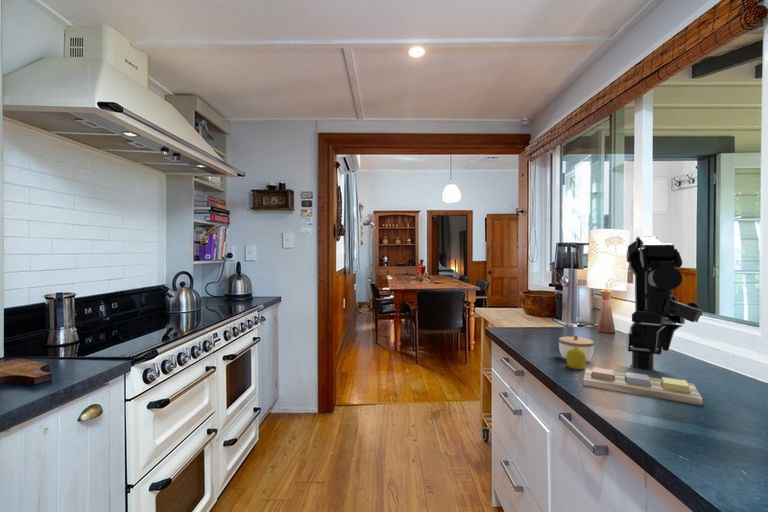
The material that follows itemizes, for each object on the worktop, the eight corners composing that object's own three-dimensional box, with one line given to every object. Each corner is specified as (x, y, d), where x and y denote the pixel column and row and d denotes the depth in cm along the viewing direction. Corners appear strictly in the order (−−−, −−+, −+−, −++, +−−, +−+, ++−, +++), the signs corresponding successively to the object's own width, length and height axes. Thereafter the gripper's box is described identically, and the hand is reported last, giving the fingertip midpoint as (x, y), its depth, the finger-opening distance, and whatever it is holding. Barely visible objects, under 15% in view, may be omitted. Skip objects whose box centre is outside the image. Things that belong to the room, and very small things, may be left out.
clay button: (593, 377, 106) (593, 367, 106) (613, 380, 104) (613, 370, 104) (592, 382, 102) (592, 371, 102) (613, 385, 100) (613, 374, 100)
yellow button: (661, 388, 98) (661, 377, 98) (685, 392, 95) (685, 380, 95) (664, 394, 94) (664, 382, 94) (689, 398, 91) (689, 386, 91)
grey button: (626, 382, 102) (626, 371, 102) (648, 386, 100) (648, 375, 100) (626, 388, 98) (626, 376, 98) (649, 391, 95) (649, 380, 95)
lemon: (588, 375, 113) (588, 349, 113) (569, 374, 114) (569, 348, 114) (582, 370, 118) (582, 345, 118) (564, 368, 119) (564, 344, 119)
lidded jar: (570, 356, 134) (570, 330, 134) (600, 364, 125) (600, 336, 125) (551, 360, 129) (552, 333, 128) (581, 368, 119) (581, 340, 119)
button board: (585, 377, 110) (586, 367, 110) (693, 395, 97) (693, 383, 97) (583, 390, 100) (583, 379, 100) (702, 411, 87) (702, 398, 87)
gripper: (685, 290, 84) (687, 359, 83) (708, 293, 95) (710, 354, 94) (630, 288, 93) (631, 351, 92) (657, 292, 104) (658, 347, 103)
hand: (659, 351), depth 95 cm, fingers open, 9 cm apart
